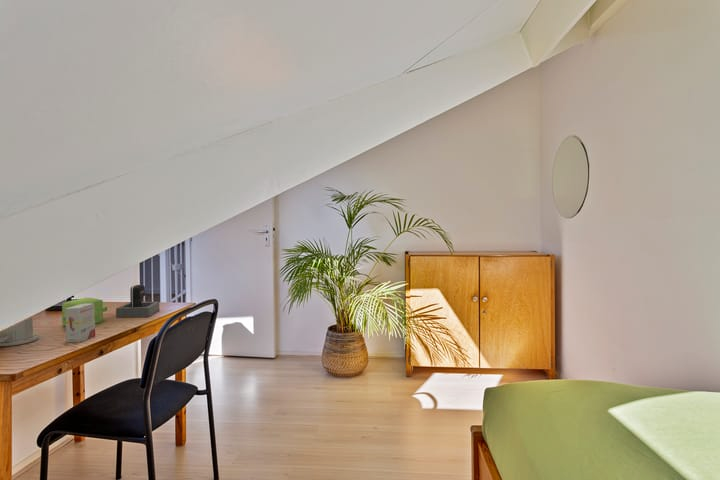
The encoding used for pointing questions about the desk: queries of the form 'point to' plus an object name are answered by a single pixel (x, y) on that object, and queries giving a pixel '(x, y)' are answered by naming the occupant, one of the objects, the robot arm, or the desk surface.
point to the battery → (137, 295)
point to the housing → (137, 310)
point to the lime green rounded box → (97, 303)
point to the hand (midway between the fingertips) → (115, 257)
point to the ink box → (80, 322)
